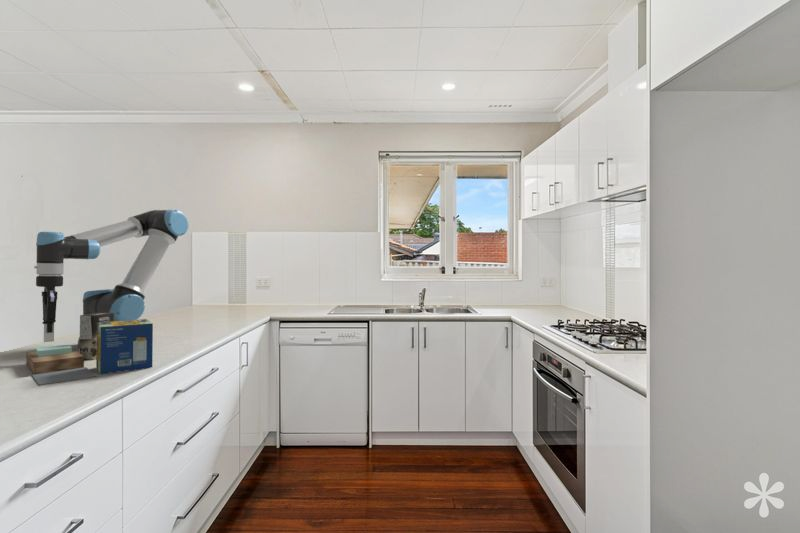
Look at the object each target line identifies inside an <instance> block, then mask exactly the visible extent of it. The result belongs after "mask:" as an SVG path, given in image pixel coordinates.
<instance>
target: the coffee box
mask: <svg viewBox="0 0 800 533" xmlns="http://www.w3.org/2000/svg"><path fill="white" fill-rule="evenodd" d="M99 322H114V313H94V314H86V315H83V314H80V315H79V337H80V344H79V345H80V346H79V347H78V348H79V351H78V352H79V353H80V354H82V355H83V356H84V360H91V359H92V360H96V350H97V324H96V323H99ZM92 360H91V361H92Z"/></svg>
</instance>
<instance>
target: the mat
mask: <svg viewBox="0 0 800 533" xmlns="http://www.w3.org/2000/svg"><path fill="white" fill-rule="evenodd" d="M31 376H32V378H33V379H34V381H35V382H36V383H37V385H38V386H43V385H44V386H45V385H50V384H51V383H52V384H57V383H58V384H59V383H64V381H65V382H71V381H76V379H77V380H84V379H88V378H89V379H90V378H95V376H96V377H97V375H96V374H95V373H93V372H92V371H91V369H89V368H88V367H85V366H84V367H83V368H76V369H69V370H62V371H55V372H48V373H41V374H31ZM83 378H84V379H83ZM70 380H71V381H70ZM52 384H51V385H52Z"/></svg>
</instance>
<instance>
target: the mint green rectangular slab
mask: <svg viewBox="0 0 800 533" xmlns="http://www.w3.org/2000/svg"><path fill="white" fill-rule="evenodd" d="M72 348H73V347H72V346H71V345H69V344H61V345H54V346H53V345H52V346H43V347H35V352H36V355H37V356H38V357H43V356H51V355H60V354H68V353H72Z"/></svg>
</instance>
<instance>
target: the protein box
mask: <svg viewBox="0 0 800 533" xmlns="http://www.w3.org/2000/svg"><path fill="white" fill-rule="evenodd" d="M96 324H97V350H96V359H95V361H96V365H95V366H96V369H97V372H98V373H99V375H104V374H103V373H106V374H110V373H109V372H113V373H118V372H117V371H121V372H126V371H125V370H129V371H135V370H134V369H137V370H143V369H142V368H144V369H151V368H150V367H152V368H153V351H154V350H153V345H154V344H153V343H154V342H153V338H154V336H153V335H154V334H153V332H154V329H153V328H154V324H153V322H151V321H149V320H148V319H147V318H144V319H143V318H141V319H137V320H128V321H114V322H99V323H96Z"/></svg>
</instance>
